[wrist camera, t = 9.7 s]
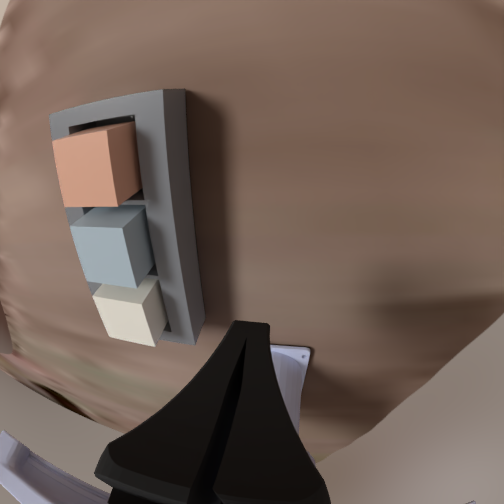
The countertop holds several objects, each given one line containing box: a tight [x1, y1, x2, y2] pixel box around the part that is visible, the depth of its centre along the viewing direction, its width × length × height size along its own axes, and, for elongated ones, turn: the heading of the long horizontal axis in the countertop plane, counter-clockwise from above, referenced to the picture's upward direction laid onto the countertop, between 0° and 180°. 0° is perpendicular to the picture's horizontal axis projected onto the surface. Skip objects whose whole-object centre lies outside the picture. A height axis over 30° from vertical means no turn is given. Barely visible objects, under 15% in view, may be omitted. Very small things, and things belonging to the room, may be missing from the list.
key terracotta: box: [52, 121, 143, 207], centre depth 15 cm, size 4×4×4 cm
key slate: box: [70, 205, 156, 289], centre depth 18 cm, size 4×4×4 cm
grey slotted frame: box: [49, 89, 206, 345], centre depth 20 cm, size 19×9×3 cm, turn 0°
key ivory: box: [93, 278, 169, 347], centre depth 21 cm, size 4×4×4 cm
